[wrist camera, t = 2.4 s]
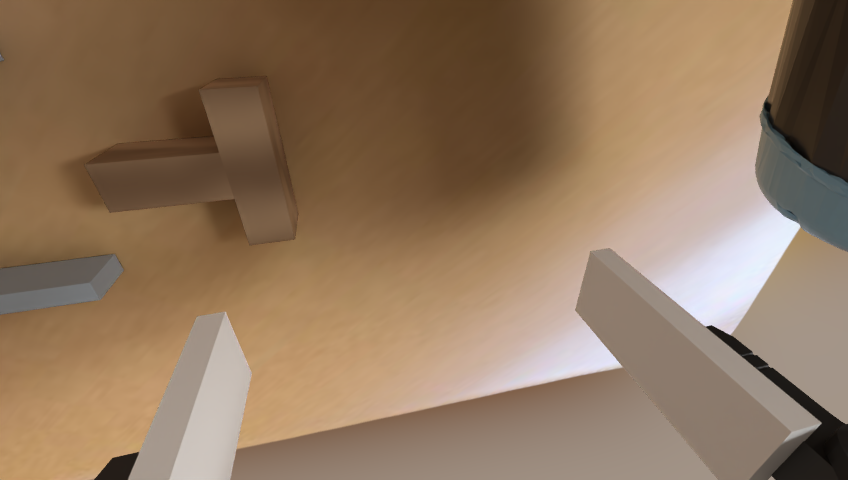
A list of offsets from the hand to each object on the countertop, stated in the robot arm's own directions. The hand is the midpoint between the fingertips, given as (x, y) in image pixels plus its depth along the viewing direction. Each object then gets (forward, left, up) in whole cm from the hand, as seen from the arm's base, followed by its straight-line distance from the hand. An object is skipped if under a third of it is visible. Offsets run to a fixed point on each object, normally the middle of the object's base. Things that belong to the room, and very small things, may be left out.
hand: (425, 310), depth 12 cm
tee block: (0, -11, -18) cm, 21 cm away
